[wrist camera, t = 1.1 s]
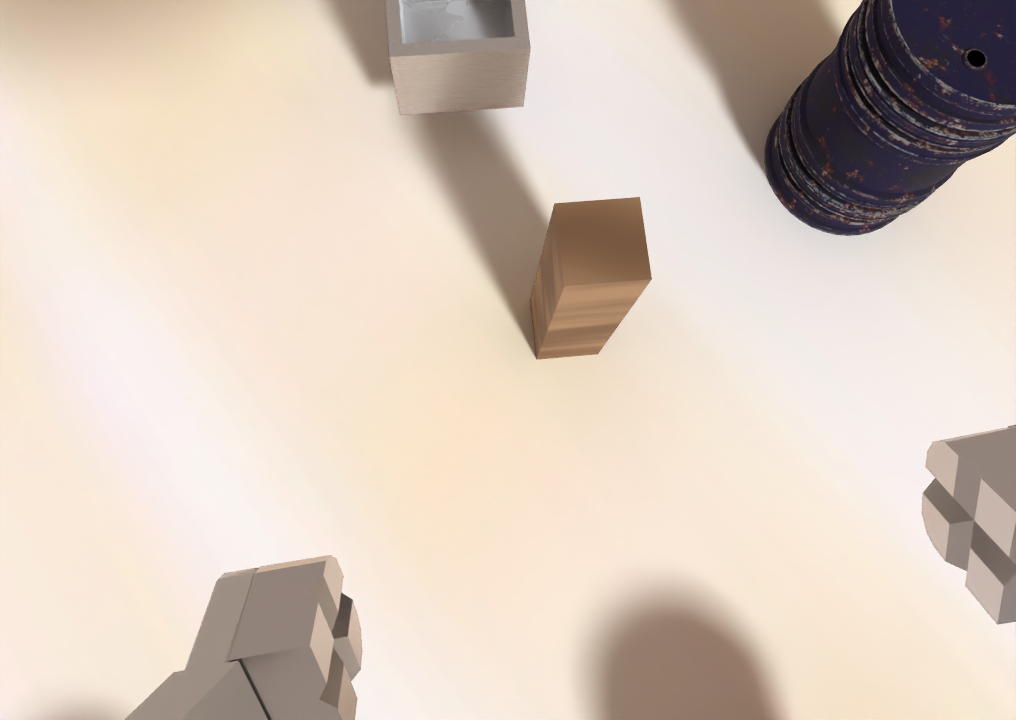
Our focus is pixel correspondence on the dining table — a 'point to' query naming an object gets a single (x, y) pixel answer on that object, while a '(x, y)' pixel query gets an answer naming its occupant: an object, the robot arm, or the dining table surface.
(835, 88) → the rusty blue barrel
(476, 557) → the dining table surface
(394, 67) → the bracket
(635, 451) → the dining table surface
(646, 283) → the rail
